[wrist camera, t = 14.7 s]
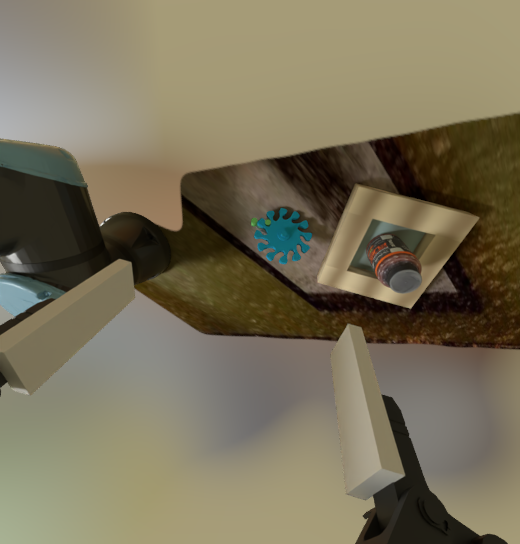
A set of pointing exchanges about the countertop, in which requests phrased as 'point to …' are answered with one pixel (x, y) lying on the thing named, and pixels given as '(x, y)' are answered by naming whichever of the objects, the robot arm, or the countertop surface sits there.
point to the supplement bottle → (394, 263)
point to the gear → (281, 235)
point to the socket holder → (398, 221)
